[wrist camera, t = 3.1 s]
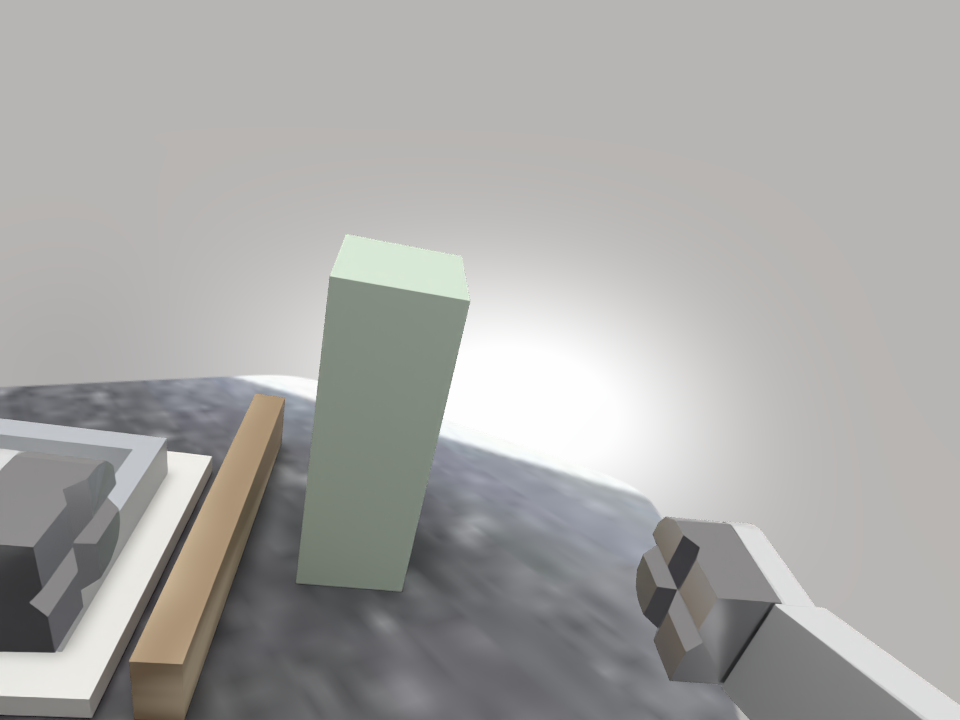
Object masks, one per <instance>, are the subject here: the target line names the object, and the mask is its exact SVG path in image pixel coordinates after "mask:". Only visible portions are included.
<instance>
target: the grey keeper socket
mask: <svg viewBox="0 0 960 720" xmlns="http://www.w3.org/2000/svg"><path fill="white" fill-rule="evenodd" d="M0 448H1V449H9V450H17V451H23V452H26V451H31V452H39V453H48V454H56V455H64V456H72V457H81V458H89V459H97V460H105V461H108V462H109V463H111V464H112V465H113V466H114V472H115V479H116V485H115V487H114V488H113V490H112V491H111V493H110V494H109V496H108V498H109V499H110V500H111V501H112V502H113V503H114V504H115V505H116V506H117V507H118V508H119V515H120V529H119V538H118V541H117V544H116V547H115V550H114V553H113V556H112V559H111V561H110V563H109V565H108V566H107V568H106V570H105V572H104V573H103V575H102V577H101V578H100V579H98V580H97V581H95V582H94V583H92V584H90V585H89V586H87V587H85V588H84V589H82V590H81V593H82V600H83V608H82V610H81V611H80V613H79V615H78V616H77V618H76V619H75V621H74V623H73V624H72V626H71V628H70V629H69V631H68V633H67V634H66V636H65V637H64V639H63V641H62V642H61V644H60V646H59V647H58V649H57V650H56V652H55V653H40V652H0V715H21V716H51V717H80V718H92V717H93V715H94V713H95V711H96V709H97V706H98V704H99V702H100V700H101V698H102V696H103V694H104V692H105V690H106V688H107V686H108V684H109V682H110V680H111V678H112V676H113V674H114V672H115V670H116V668H117V665H118V663H119V661H120V659H121V657H122V655H123V653H124V651H125V649H126V647H127V645H128V643H129V641H130V639H131V637H132V635H133V633H134V631H135V629H136V627H137V625H138V622H139V620H140V618H141V616H142V614H143V612H144V610H145V608H146V606H147V604H148V602H149V600H150V598H151V596H152V594H153V592H154V590H155V588H156V586H157V584H158V582H159V579H160V577H161V575H162V573H163V571H164V569H165V567H166V565H167V563H168V561H169V559H170V557H171V555H172V553H173V551H174V549H175V547H176V545H177V543H178V541H179V539H180V536H181V534H182V532H183V530H184V528H185V526H186V524H187V522H188V520H189V518H190V516H191V514H192V512H193V510H194V508H195V506H196V504H197V502H198V500H199V498H200V496H201V493H202V491H203V489H204V487H205V485H206V483H207V481H208V479H209V477H210V475H211V473H212V456H205V455H196V454H187V453H179V452H170V451H167V438H159V437H151V436H142V435H134V434H126V433H117V432H109V431H100V430H92V429H83V428H75V427H67V426H58V425H50V424H41V423H33V422H25V421H16V420H8V419H0Z"/></svg>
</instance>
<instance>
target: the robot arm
mask: <svg viewBox="0 0 960 720" xmlns="http://www.w3.org/2000/svg"><path fill="white" fill-rule="evenodd" d="M115 485H116V479H115V472H114V466H113V465H112V464H111V463H109V462H108V461H105V460H97V459H89V458H81V457H72V456H64V455H56V454H48V453H39V452H31V451H26V452H23V451H17V450H9V449H1V448H0V652H40V653H55V652H56V650H57V649H58V647H59V646H60V644H61V642H62V641H63V639H64V637H65V636H66V634H67V633H68V631H69V629H70V628H71V626H72V624H73V623H74V621H75V619H76V618H77V616H78V615H79V613H80V611H81V610H82V608H83V600H82V593H81V590H82V589H84V588H85V587H87V586H89V585H90V584H92V583H94V582H95V581H97V580H98V579H100V578H101V577H102V575H103V573H104V572H105V570H106V568H107V566H108V565H109V563H110V561H111V559H112V556H113V553H114V550H115V547H116V544H117V541H118V538H119V529H120V515H119V508H118V507H117V506H116V505H115V504H114V503H113V502H112V501H111V500H110V499H109V498H108V496H109V494H110V493H111V491H112V490H113V488H114V487H115ZM653 536H654V539H655V542H656V544H657V545H656V546H655V547H653V548H652V549H651V550H649V551H648V552H646V553H645V554H643V557H642V559H641V561H640V564H639V566H638V569H637V578H636V590H637V596H638V601H639V604H640V606H641V609H642V612H643V615H645V616H646V617H647V618H648V619H649V620H650V621H651V622H652V623H653V624H654V625H655V626H656V627H657V631H656V634H655V637H654V643H655V645H656V648H657V650H658V653H659V655H660V658H661V660H662V663H663V665H664V668H665V670H666V673H667V675H668V678H669V680H670V681H677V682H690V683H704V684H717V685H722V687H721V688H722V689H723V691H724V692H725V693H726V694H727V695H728V696H729V697H730V698H731V699H732V701H733V702H734V703H735V704H736V705H737V706H738V707H739V708H740V709H741V711H742V712H743V713H744V714H745V715H746V716H747V717H748V718H749V719H750V720H960V705H959V704H957V703H956V702H955V701H953V700H952V699H951V698H949V697H948V696H946V695H945V694H944V693H942V692H941V691H939V690H938V689H937V688H935V687H934V686H933V685H931V684H930V683H928V682H927V681H926V680H924V679H923V678H921V677H920V676H919V675H917V674H916V673H914V672H913V671H912V670H910V669H909V668H908V667H906V666H905V665H903V664H902V663H900V662H899V661H898V660H896V659H895V658H894V657H892V656H891V655H889V654H888V653H887V652H885V651H884V650H883V649H881V648H880V647H878V646H877V645H876V644H874V643H873V642H871V641H870V640H868V639H867V638H866V637H864V636H863V635H861V634H860V633H859V632H858V631H856V630H855V629H853V628H852V627H851V626H849V625H848V624H846V623H845V622H844V621H842V620H841V619H840V618H838V617H837V616H835V615H834V614H832V613H831V612H830V611H828V610H827V609H826V608H821V607H815V605H814V604H813V603H812V601H811V600H810V598H809V597H808V595H807V594H806V593H805V591H804V590H803V588H802V587H801V586H800V584H799V583H798V581H797V580H796V579H795V577H794V576H793V574H792V573H791V572H790V570H789V569H788V567H787V566H786V564H785V563H784V562H783V560H782V559H781V557H780V556H779V555H778V553H777V552H776V550H775V549H774V548H773V546H772V545H771V543H770V542H769V541H768V539H767V538H766V537H765V535H764V533H763V532H762V531H761V530H760V529H759V528H757V527H756V526H754V525H753V524H749V523H748V524H747V523H736V522H718V521H706V520H696V519H685V518H674V517H665V518H664V519H662V520H661V521H660V522H659V523H658V525H657V527H656V529H655V531H654V533H653Z"/></svg>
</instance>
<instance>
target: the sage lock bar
mask: <svg viewBox="0 0 960 720" xmlns="http://www.w3.org/2000/svg"><path fill="white" fill-rule="evenodd" d="M469 304H470V297H469V292H468V286H467V281H466V276H465V270H464V265H463V260H462V256H458V255H453V254H448V253H442V252H437V251H432V250H427V249H422V248H416V247H411V246H405V245H400V244H395V243H390V242H385V241H379V240H374V239H369V238H363V237H358V236H353V235H348V234H346V236H345V239H344V241H343V244H342V246H341V249H340V251H339V254H338V256H337V259H336V262H335V264H334V267H333V269H332V272H331V274H330V279H329V288H328V297H327V306H326V315H325V325H324V334H323V342H322V351H321V361H320V369H319V378H318V388H317V397H316V406H315V415H314V424H313V433H312V442H311V451H310V460H309V469H308V478H307V488H306V497H305V506H304V515H303V524H302V533H301V542H300V551H299V560H298V569H297V578H296V583H298V584H311V585H323V586H336V587H349V588H362V589H374V590H387V591H400V592H402V589H403V585H404V580H405V576H406V572H407V568H408V563H409V559H410V555H411V551H412V546H413V542H414V538H415V534H416V529H417V525H418V521H419V517H420V512H421V508H422V504H423V500H424V495H425V491H426V487H427V483H428V478H429V474H430V470H431V466H432V461H433V457H434V453H435V449H436V444H437V440H438V436H439V432H440V427H441V423H442V419H443V415H444V410H445V406H446V402H447V397H448V393H449V389H450V385H451V381H452V376H453V372H454V368H455V364H456V359H457V355H458V350H459V346H460V342H461V338H462V334H463V329H464V325H465V321H466V316H467V312H468V308H469Z"/></svg>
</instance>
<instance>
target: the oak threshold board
mask: <svg viewBox="0 0 960 720" xmlns="http://www.w3.org/2000/svg"><path fill="white" fill-rule="evenodd" d="M284 405H285V398H284V397H277V396H269V395H262V394H255V396H254V398H253V400H252V402H251V405H250V407H249V409H248V411H247V413H246V415H245V417H244V419H243V421H242V424H241V426H240V428H239V430H238V432H237V434H236V436H235V438H234V440H233V443H232V445H231V447H230V449H229V451H228V453H227V455H226V457H225V459H224V462H223V464H222V466H221V468H220V470H219V472H218V474H217V476H216V479H215V481H214V483H213V485H212V487H211V489H210V491H209V493H208V495H207V498H206V500H205V502H204V504H203V506H202V508H201V510H200V512H199V514H198V517H197V519H196V521H195V523H194V525H193V527H192V529H191V531H190V533H189V536H188V538H187V540H186V542H185V544H184V546H183V548H182V550H181V553H180V555H179V557H178V559H177V561H176V563H175V565H174V567H173V569H172V572H171V574H170V576H169V578H168V580H167V582H166V584H165V586H164V588H163V591H162V593H161V595H160V597H159V599H158V601H157V603H156V605H155V607H154V610H153V612H152V614H151V616H150V618H149V620H148V622H147V624H146V627H145V629H144V631H143V633H142V635H141V637H140V639H139V641H138V643H137V646H136V648H135V650H134V652H133V654H132V656H131V658H130V660H129V667H130V678H131V689H132V700H133V710H134V719H138V720H184V719H185V716H186V714H187V711H188V708H189V705H190V702H191V699H192V696H193V694H194V691H195V688H196V685H197V682H198V679H199V676H200V674H201V671H202V668H203V665H204V662H205V659H206V656H207V654H208V651H209V648H210V645H211V642H212V639H213V637H214V634H215V631H216V628H217V625H218V622H219V619H220V617H221V614H222V611H223V608H224V605H225V602H226V599H227V597H228V594H229V591H230V588H231V585H232V582H233V579H234V577H235V574H236V571H237V568H238V565H239V562H240V559H241V557H242V554H243V551H244V548H245V545H246V542H247V539H248V537H249V534H250V531H251V528H252V525H253V522H254V520H255V517H256V514H257V511H258V508H259V505H260V502H261V500H262V497H263V494H264V491H265V488H266V485H267V482H268V480H269V477H270V474H271V471H272V468H273V465H274V462H275V460H276V457H277V454H278V451H279V448H280V445H281V442H282V430H283V417H284Z"/></svg>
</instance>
